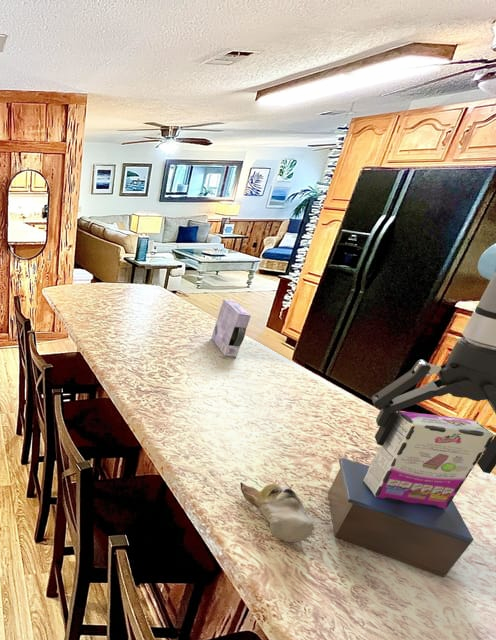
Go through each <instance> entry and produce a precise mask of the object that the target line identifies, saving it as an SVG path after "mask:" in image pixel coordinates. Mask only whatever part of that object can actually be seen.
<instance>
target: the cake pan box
mask: <svg viewBox="0 0 496 640" xmlns="http://www.w3.org/2000/svg"><path fill="white" fill-rule="evenodd" d="M250 320H251V314H250V313H249V312H248V311H246V310H245V309H244V308H243V307H242V306H241V305H240V304H239V303H238V302H237V301H236V300H235V299H225V298H224V299H223V300H222V302H221V305H220V309H219V312H218V315H217V318H216V322H215V326H214V327H213V331H212V334H211V339H210V340H212V341H213V342H214V343H215V346H216V347H217V348H218V350H220V352H221V354H223V356H224V357H227V358H237V356H238V354H239V351H240V348H241V345H242V344H243V342H244V339H245V336H246V332H247V328H248V326H249V323H250Z"/></svg>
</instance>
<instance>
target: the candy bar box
mask: <svg viewBox="0 0 496 640" xmlns="http://www.w3.org/2000/svg"><path fill="white" fill-rule="evenodd" d="M396 412H397V414H398V418H397V420H396V422H395V424H394V426H393V428H392V429H391V431H390V433H389V435H388V437H387V439H386V441H385V443H384V444H383V446H382V445H379V447H378V449H377V451H376V453H375V455H374V457H373V460H372V461H371V463H370V465H369V466H370V467H369V469H368V471H367V473H366V475H365V477H364V479H363V481H364V483H365V484H366V486H367V487H368V488H369V489H370V490H371V492H372V493H373V494H374V496H375V497H377V498H382V499H388V500H394V501H401V502H407V503H413V504H419V505H426V506H432V507H439V508H445V509H447V507H448V505H449V504H450V502H451V501H452V500H453V499H454V498H455V497H456V495H457V494H458V492H459V490H460V489H461V487H462V485H463V484H464V482H465V481H466V480H467V478H468V476H469V475H470V473H471V471H472V470H474V468H475V466H476V465H477V462H478V460H479V459H480V457H481V456H482V454H483V453H484V452H485V450H486V449H487V447H488V446H489V444H490V443H491V441H492V440H493V438H494V437H495V435H496V434H494V433H493V432H491V431H490V430H488V428H486V427H484V426H483V425H481V424H479V422H478V421H476V420H475V419H471V418H462V417H454V416H444V415H436V414H427V413H418V412H413V411H412V412H411V411H402V410H399V411H396Z"/></svg>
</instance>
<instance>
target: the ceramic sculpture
mask: <svg viewBox="0 0 496 640" xmlns="http://www.w3.org/2000/svg"><path fill="white" fill-rule="evenodd" d="M239 483H240V485H239V486H240V490H241V493H242V495H243V497H244V499H245V500H246V501H247V503H249V504H251V505H252V506H254V508H256V509H257V510H259V511H260V512H261V513H262V515H263V516H264V517H265V518H266V520H267V521H268V522H269V531H270V532H271V534H272V536H273V537H275V538H276V539H279V540H281V541H284V542H286V543H294V542H301V541H304V540H306V539H308V538H309V537H310V536H311V534H312V532H313V531H314V530H315V527H314V523H313V521H312V520H311V519H310V518H308V517H307V513H306V511H305V507H304V505H303V502H301V499H300V498H299V497H298V494H297V493H296V492H295V491H294V490H293V489H292V488H290V487H289V486H287V485H283V484H279V483H278V484H277V483H271V484H267V485H264V487H263V488H262V489H261V490H258V489H257V488H255V487H252V486H248V485H246V484H245V483H243V482H242V481H240V482H239Z"/></svg>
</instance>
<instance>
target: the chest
mask: <svg viewBox="0 0 496 640" xmlns="http://www.w3.org/2000/svg"><path fill="white" fill-rule="evenodd" d="M327 496H328V502H329V510H330V515H331V521H332V526H333V533H334V537H335V538H336V539H339V540H342V541H345V542H348V543H350V544H353V545H356V546H359V547H361V548H364V549H367V550H369V551H372V552H375V553H378V554H380V555H383V556H385V557H387V558H388V557H389V558H390V559H393V560H396V561H399V562H401V563H404V564H407V565H410V566H412V567H415V568H417V569H420V570H423V571H425V572H429V573H431V574H434V575H437V576H439V577H442V578H445V577H446V575H447V574H448V573H449V572H450V571H451V569H452V568H453V567H454V566H455V564H456V563H457V562H458V561H459V559H460V558H461V557H462V555H463V554H464V553H465V551H466V550H467V549H468V548H469V546H471V544H472V543H470V542H467V541H464V540H461V539H458V538H455V537H452V536H449V535H446V534H443V533H440V532H437V531H434V530H431V529H428V528H425V527H422V526H419V525H416V524H413V523H410V522H407V521H404V520H401V519H398V518H395V517H392V516H389V515H386V514H383V513H380V512H377V511H374V510H371V509H368V508H365V507H362V506H358V505H355V504H352V503H349V502H348V501H347V496H346V492H345V487H344V482H343V478H342V473H341V468H340V467H339V470H338V472H337V473H336V475H335V477H334V479H333V481H332V484H331V486H330V488H329V490H328V492H327Z"/></svg>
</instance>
